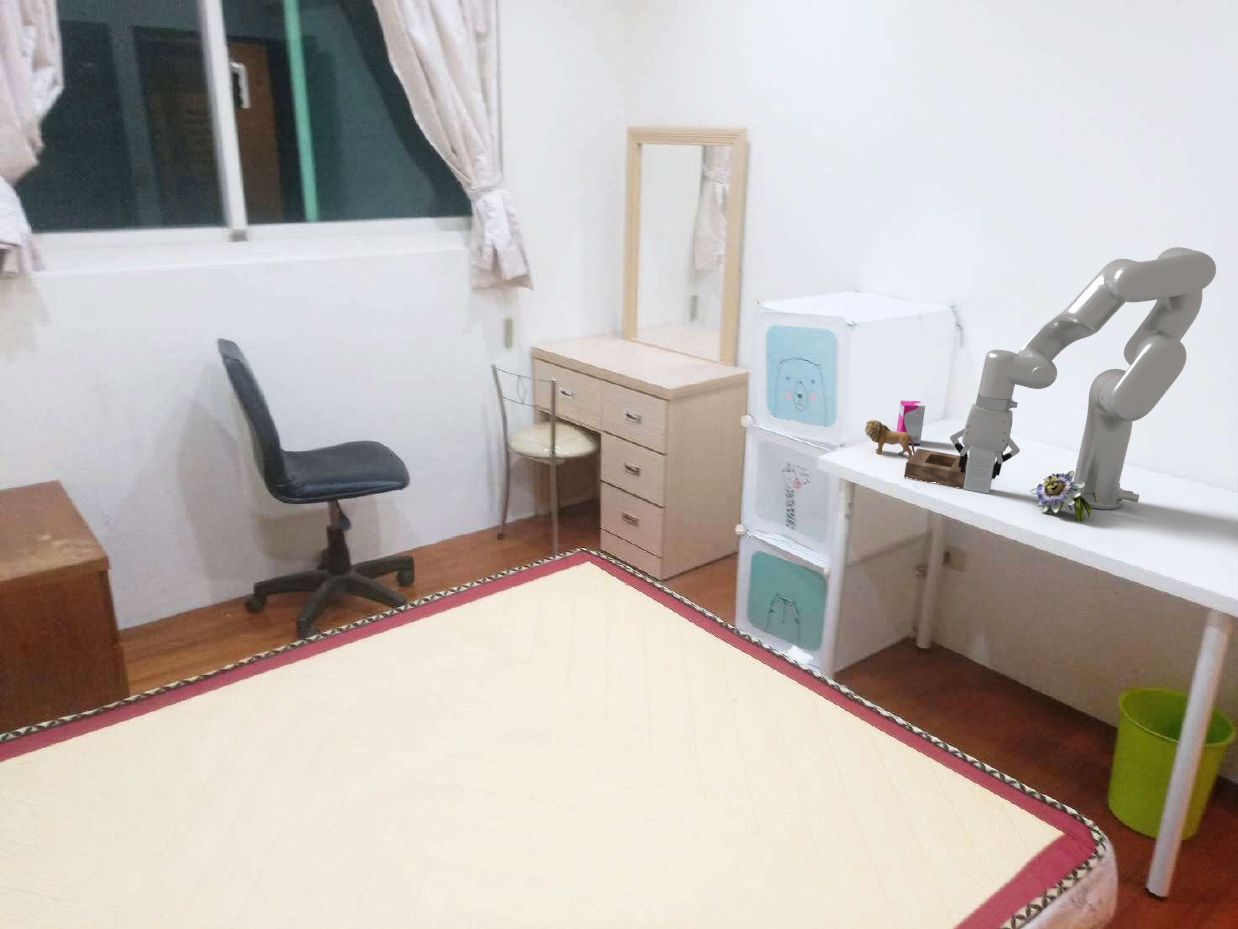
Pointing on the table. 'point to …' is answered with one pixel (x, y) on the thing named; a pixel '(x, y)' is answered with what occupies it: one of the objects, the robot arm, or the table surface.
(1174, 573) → the table surface
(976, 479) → the skincare box
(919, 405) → the supplement box
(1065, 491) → the passion flower
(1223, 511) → the table surface
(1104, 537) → the table surface
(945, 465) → the holder block
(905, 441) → the lion figurine
